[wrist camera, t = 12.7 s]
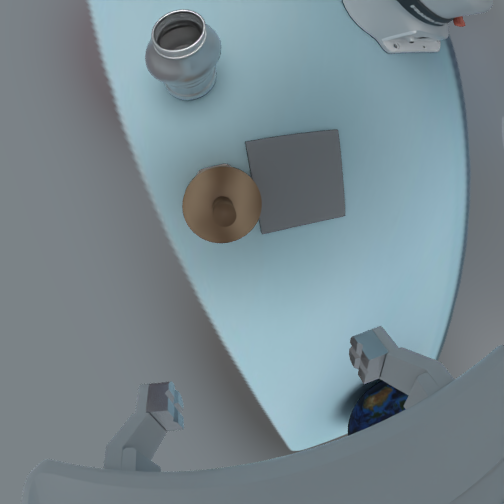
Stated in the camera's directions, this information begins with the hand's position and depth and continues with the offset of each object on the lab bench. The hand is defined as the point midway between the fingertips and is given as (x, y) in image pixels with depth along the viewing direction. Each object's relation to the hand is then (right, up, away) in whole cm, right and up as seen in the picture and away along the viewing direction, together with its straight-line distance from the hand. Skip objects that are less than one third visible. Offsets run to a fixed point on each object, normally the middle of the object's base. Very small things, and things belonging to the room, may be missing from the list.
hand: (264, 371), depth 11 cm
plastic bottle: (-9, +28, +20) cm, 35 cm away
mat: (+7, +16, +28) cm, 33 cm away
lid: (-4, +11, +23) cm, 26 cm away
